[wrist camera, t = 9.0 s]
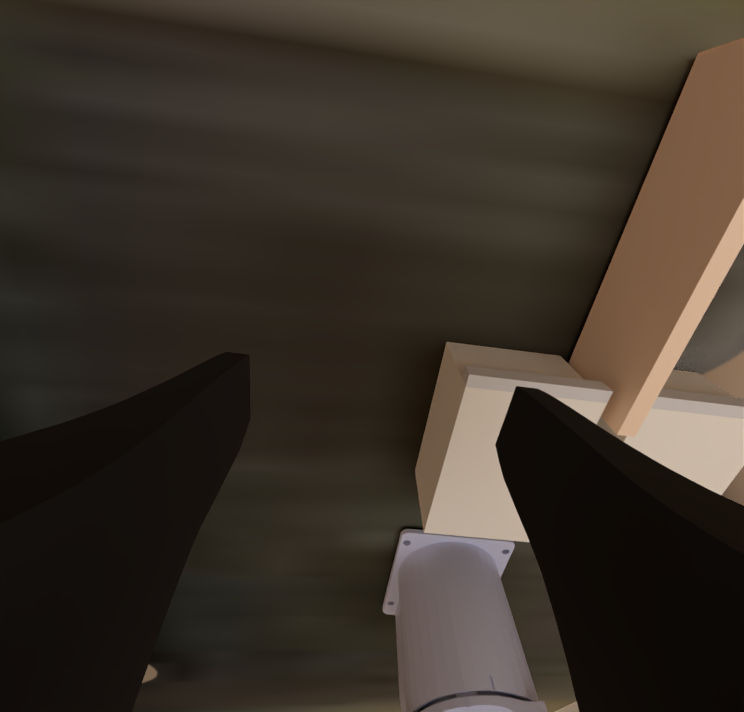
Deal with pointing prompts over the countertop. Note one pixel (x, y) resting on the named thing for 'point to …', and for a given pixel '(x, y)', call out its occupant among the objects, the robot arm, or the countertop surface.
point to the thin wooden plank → (671, 244)
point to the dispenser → (589, 398)
